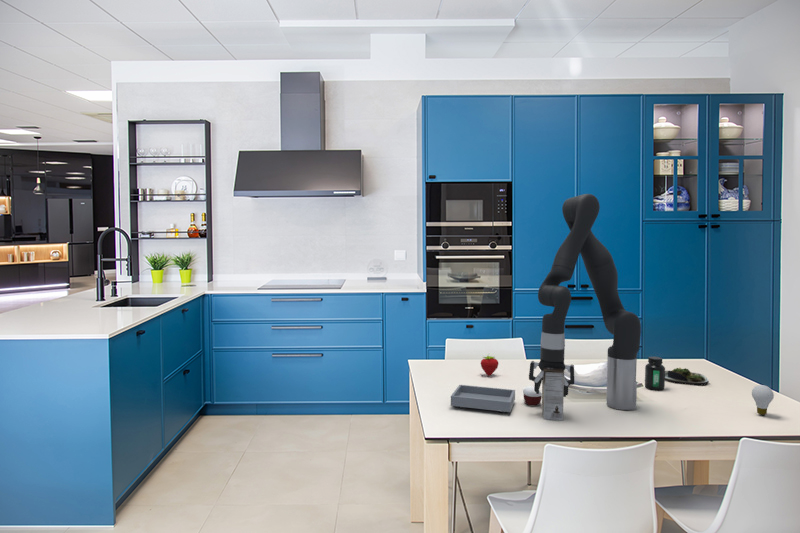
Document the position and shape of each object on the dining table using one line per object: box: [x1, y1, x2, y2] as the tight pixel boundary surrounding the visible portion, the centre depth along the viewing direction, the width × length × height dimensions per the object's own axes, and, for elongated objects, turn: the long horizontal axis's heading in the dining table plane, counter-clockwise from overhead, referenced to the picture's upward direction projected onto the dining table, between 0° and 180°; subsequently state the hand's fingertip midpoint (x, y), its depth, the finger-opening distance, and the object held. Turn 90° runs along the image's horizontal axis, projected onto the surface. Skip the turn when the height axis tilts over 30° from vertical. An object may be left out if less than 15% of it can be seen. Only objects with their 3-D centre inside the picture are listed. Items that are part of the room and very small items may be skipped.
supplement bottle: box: [644, 356, 666, 392], centre depth 196 cm, size 7×7×12 cm
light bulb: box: [751, 384, 775, 416], centre depth 167 cm, size 6×6×10 cm
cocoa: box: [522, 378, 542, 407], centre depth 178 cm, size 10×6×12 cm, turn 3°
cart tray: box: [450, 384, 516, 414], centre depth 177 cm, size 20×14×4 cm
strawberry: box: [480, 353, 499, 377], centre depth 214 cm, size 6×8×10 cm
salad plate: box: [665, 367, 710, 387], centre depth 211 cm, size 19×18×5 cm
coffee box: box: [541, 367, 565, 421], centre depth 167 cm, size 9×6×16 cm
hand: (550, 394), depth 168 cm, fingers open, 8 cm apart
